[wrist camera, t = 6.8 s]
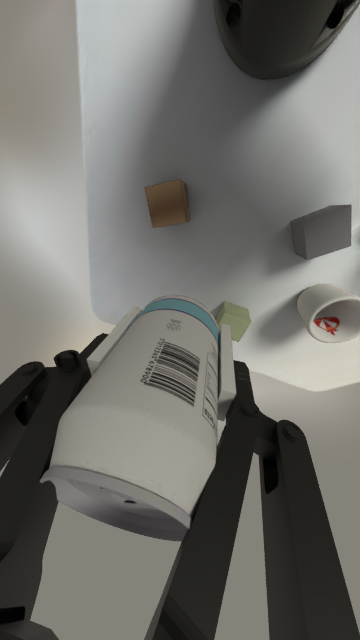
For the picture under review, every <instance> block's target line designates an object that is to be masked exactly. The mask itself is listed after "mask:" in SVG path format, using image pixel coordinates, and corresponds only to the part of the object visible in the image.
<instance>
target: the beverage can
mask: <svg viewBox="0 0 360 640" xmlns="http://www.w3.org/2000/svg"><path fill="white" fill-rule="evenodd" d="M218 338H219V332H218V325H217V322H216V320H215V318H214V316H213V315H212V313H211V312H210V311H209V310H208V309H207V308H206V307H205V306H204V305H202V304H201V303H199V302H198V301H196V300H194V299H191V298H188V297H185V296H179V295H168V296H163V297H160V298H157V299H155V300H153V301H152V302H150V303H149V304H148V305H147V306H146V307H145V309H144V310H143V311H142V312H141V314H140V315H139V316H138V318H137V319H136V320H135V322H134V323H133V324H132V325H131V327H130V328H129V329H128V331H127V332H126V333H125V335H124V336H123V337H122V338H121V340H120V341H119V342H118V344H117V345H116V346H115V347H114V349H113V350H112V351H111V353H110V354H109V355H108V357H107V358H106V359H105V360H104V362H103V363H102V364H101V366H100V367H99V368H98V370H97V371H96V372H95V373H94V375H93V376H92V377H91V379H90V380H89V381H88V383H87V384H86V385H85V386H84V388H83V389H82V390H81V392H80V393H79V394H78V395H77V397H76V398H75V399H74V401H73V402H72V403H71V405H70V406H69V407H68V408H67V410H66V411H65V412H64V414H63V415H62V417H61V419H60V421H59V424H58V429H57V434H56V439H55V443H54V448H53V453H52V457H51V462H50V467H49V470H47V471H46V472H45V473H44V475H43V476H42V478H41V479H40V482H41V483H43V482H45V481H48V480H50V481H51V482H52V483H53V484H54V485H55V488H56V493H57V500H58V501H59V502H61V503H63V504H64V505H66V506H68V507H70V508H72V509H74V510H76V511H78V512H80V513H82V514H84V515H87V516H89V517H92V518H94V519H96V520H99V521H101V522H104V523H106V524H109V525H112V526H115V527H118V528H120V529H124V530H127V531H130V532H133V533H137V534H140V535H144V536H148V537H153V538H157V539H163V540H170V541H182V540H183V538H184V536H185V534H186V532H187V529H188V530H190V528H191V525H192V522H193V517H194V515H195V512H196V510H197V507H198V505H199V502H200V499H201V497H202V494H203V492H204V489H205V487H206V484H207V481H208V479H209V476H210V474H211V472H212V470H213V469H214V466H215V463H216V456H217V415H218Z"/></svg>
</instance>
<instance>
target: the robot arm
mask: <svg viewBox="0 0 360 640" xmlns="http://www.w3.org/2000/svg"><path fill="white" fill-rule="evenodd" d="M359 4H360V0H214V7H215V15H216V20H217V25H218V29H219V33H220V36H221V39H222V42H223V44H224V46H225V49H226V51H227V52H228V54H229V56H230V57H231V59H232V60H233V62H234V63H235V64H236V65H237V66H238V67H239V68H240V69H241V70H242V71H244V72H245V73H247V74H248V75H250V76H252V77H255V78H259V79H278V78H282V77H285V76H288V75H290V74H292V73H294V72H296V71H298V70H300V69H302V68H303V67H305V66H306V65H307V64H309V63H310V62H311V61H313V60H314V59H315V58H316V57H317V56H319V55H320V54H321V53H322V52H323V51H324V50H325V49H326V48H327V47H328V46H329V45H330V44H331V42H332V41H333V40H334V39H335V38H336V37H337V35H338V34H339V33H340V32H341V30H342V29H343V28H344V26H345V25H346V23H347V22H348V21H349V19H350V18H351V16H352V15H353V13H354V12H355V10H356V9H357V7H358V6H359ZM141 312H142V308H137V307H133V308H132V309H131V310H130V311H129V312H128V314H127V315H126V316H125V317H124V318H123V319H122V320H121V321H120V323H119V324H118V325H117V326H116V327H115V328H114V329H113V330H112V332H111V333H110V334H104V333H102V334H101V335H99V336H97V337H96V338H95V339H94V340H93V341H92V342H91V343H90V344H89V345H88V346H87V347H86V348H85V349H84V350H83V351H82V352H81V353H80V354H79V353H78V352H77V351H75V350H67V351H63V352H61V353H59V354H57V355H56V356H55V357H54V361H55V364H56V366H57V367H44V365H43V364H42V363H41V362H30V363H27V364H24V365H22V366H21V367H20V368H18V369H17V370H16V371H15V372H14V373H13V374H12V375H10V376H9V377H8V378H7V379H6V380H5V381H4V382H3V383H2V384H1V385H0V471H1V470H2V468H3V467H4V466H5V464H6V463H7V461H8V460H9V459H10V460H9V462H8V464H7V466H6V467H5V469H4V471H3V473H2V475H1V477H0V640H59V639H58V638H57V637H56V635H55V634H54V633H53V631H52V630H51V629H49V628H47V627H44V626H42V625H39V624H37V623H34V622H32V621H30V618H31V614H32V611H33V607H34V604H35V600H36V596H37V593H38V589H39V585H40V581H41V575H42V559H43V554H44V550H45V546H46V543H47V539H48V535H49V532H50V529H51V525H52V522H53V519H54V515H55V512H56V508H57V505H58V500H57V493H56V488H55V485H54V484H53V483H52V482H51V481H50V480H48V481H45V482H43V483H41V482H40V479H41V478H42V476H43V475H44V473H45V472H46V471H47V470H49V467H50V462H51V457H52V453H53V448H54V443H55V439H56V434H57V429H58V424H59V421H60V419H61V417H62V415H63V414H64V412H65V411H66V410H67V408H68V407H69V406H70V405H71V403H72V402H73V401H74V399H75V398H76V397H77V395H78V394H79V393H80V392H81V390H82V389H83V388H84V386H85V385H86V384H87V383H88V381H89V380H90V379H91V377H92V376H93V375H94V373H95V372H96V371H97V370H98V368H99V367H100V366H101V364H102V363H103V362H104V360H105V359H106V358H107V357H108V355H109V354H110V353H111V351H112V350H113V349H114V347H115V346H116V345H117V344H118V342H119V341H120V340H121V338H122V337H123V336H124V335H125V333H126V332H127V331H128V329H129V328H130V327H131V325H132V324H133V323H134V322H135V320H136V319H137V318H138V316H139V315H140V314H141ZM26 396H27V397H26ZM25 397H26V398H25ZM225 417H226V425H225V427H224V430H223V432H222V436H221V438H220V441H219V443H218V446H217V456H216V463H215V466H214V469H213V470H212V472H211V474H210V476H209V479H208V481H207V484H206V487H205V489H204V492H203V494H202V497H201V499H200V502H199V505H198V507H197V510H196V512H195V515H194V517H193V522H192V525H191V528H190V530H188V529H187V532H186V534H185V536H184V538H183V540H182V542H181V545H180V548H179V550H178V553H177V556H176V559H175V561H174V564H173V566H172V569H171V572H170V575H169V577H168V580H167V583H166V585H165V588H164V591H163V593H162V596H161V598H160V601H159V604H158V606H157V608H156V611H155V613H154V616H153V618H152V621H151V623H150V626H149V628H148V631H147V634H146V636H145V639H144V640H214V637H215V633H216V628H217V623H218V618H219V613H220V609H221V604H222V599H223V594H224V590H225V585H226V580H227V575H228V571H229V566H230V561H231V556H232V551H233V547H234V542H235V537H236V532H237V528H238V523H239V518H240V513H241V508H242V503H243V499H244V494H245V490H246V485H247V480H248V475H249V470H250V466H251V460H252V456H253V452H254V453H256V454H257V455H259V467H260V484H261V500H262V518H263V534H264V551H265V567H266V568H265V569H266V586H267V602H268V619H269V635H270V640H360V634H359V631H358V627H357V623H356V620H355V616H354V612H353V609H352V605H351V601H350V598H349V594H348V590H347V587H346V583H345V579H344V576H343V572H342V568H341V565H340V561H339V557H338V554H337V550H336V546H335V543H334V539H333V535H332V532H331V528H330V525H329V521H328V517H327V513H326V510H325V506H324V502H323V499H322V495H321V491H320V488H319V484H318V481H317V477H316V473H315V469H314V466H313V462H312V458H311V455H310V451H309V447H308V444H307V440H306V437H305V435H304V433H303V432H302V430H301V429H300V428H299V427H298V426H297V425H295V424H294V423H293V422H290V421H288V420H281V421H279V422H276V421H274V420H273V419H271V418H269V417H267V416H266V415H264V414H263V413H262V412H260V410H259V408H258V407H257V405H256V404H255V402H254V397H253V391H252V386H251V382H250V376H249V369H248V367H247V366H246V364H245V363H244V362H240V361H235V360H233V351H232V340H231V328H230V325H227V324H222V323H221V325H220V329H219V338H218V415H217V420H221V421H224V419H225ZM10 457H11V458H10Z"/></svg>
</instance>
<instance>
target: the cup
mask: <svg viewBox="0 0 360 640" xmlns="http://www.w3.org/2000/svg"><path fill="white" fill-rule="evenodd" d="M297 310H298V312H299V314H300V316H301V318H302V320H303V322H304V324H305V326H306V328H307V330H308V332H309V333H310V335H311V336H312V337H313V338H315V339H317V340H319V341H322V342H326V343H339V342H344V341H347V340H350V339H353V338H355V337H357V336H358V335H360V296H357V295H354V294H352V293H350V292H347V291H345V290H343V289H340V288H338V287H336V286H333V285H329V284H318V285H314V286H311V287H309V288H307V289H306V290H305V291H303V292H302V293H301V295H300V296H299V298H298V300H297Z"/></svg>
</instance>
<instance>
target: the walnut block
mask: <svg viewBox="0 0 360 640" xmlns="http://www.w3.org/2000/svg"><path fill="white" fill-rule="evenodd" d="M145 191H146V196H147V201H148V206H149V211H150V216H151V221H152V226H153V228H155V227H161V226H167V225H173V224H179V223H185V222H188V221H190V217H189V207H188V198H187V188H186V184H185V183H184V182H183V181H182V180H180V179H179V180H175V181H170V182H166V183H161V184H157V185H152V186H148V187H145Z"/></svg>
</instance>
